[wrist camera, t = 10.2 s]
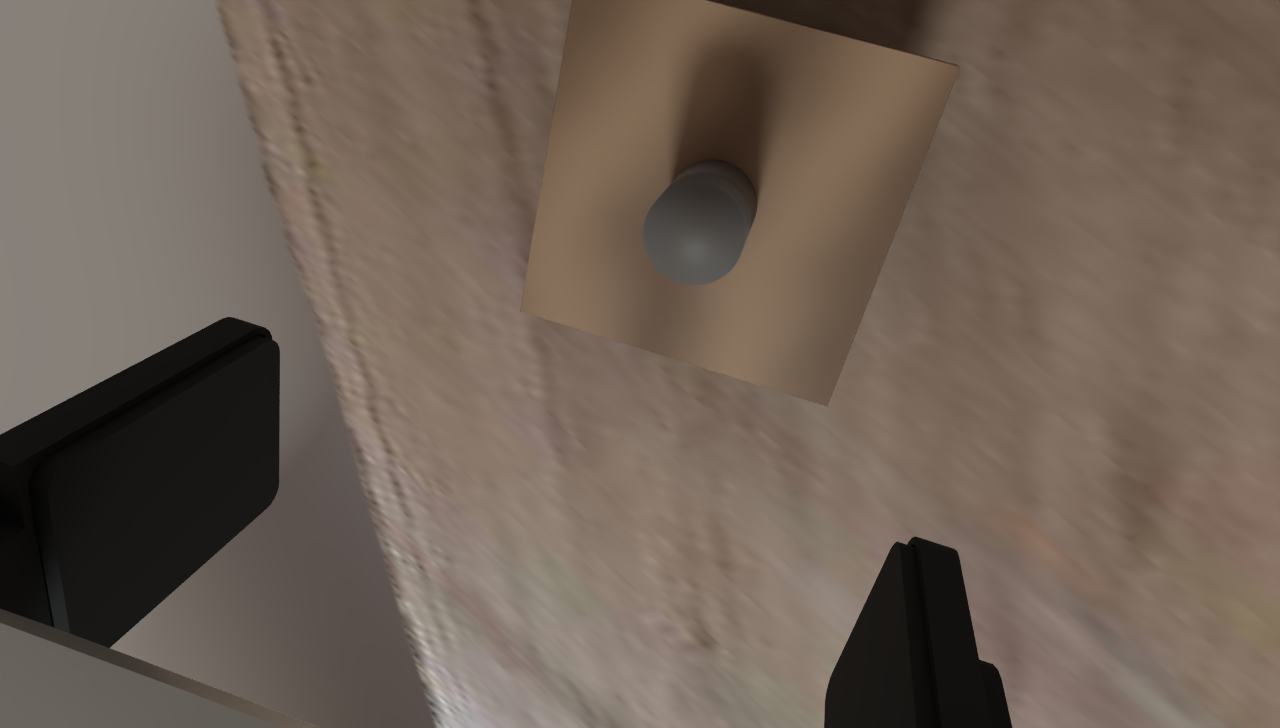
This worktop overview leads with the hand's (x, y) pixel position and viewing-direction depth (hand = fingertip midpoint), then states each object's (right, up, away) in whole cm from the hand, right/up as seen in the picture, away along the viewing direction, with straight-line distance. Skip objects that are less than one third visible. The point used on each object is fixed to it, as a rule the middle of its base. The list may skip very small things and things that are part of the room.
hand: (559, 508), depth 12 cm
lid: (+4, +8, +16) cm, 18 cm away
